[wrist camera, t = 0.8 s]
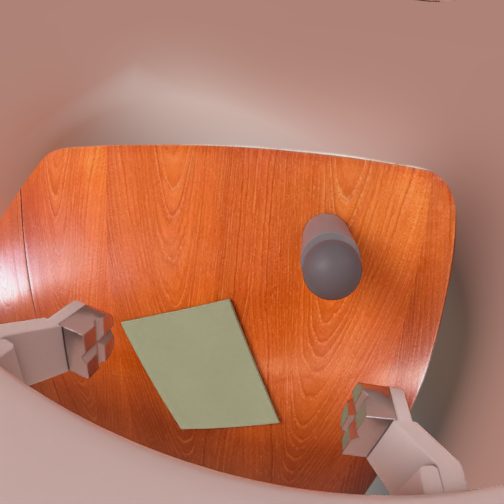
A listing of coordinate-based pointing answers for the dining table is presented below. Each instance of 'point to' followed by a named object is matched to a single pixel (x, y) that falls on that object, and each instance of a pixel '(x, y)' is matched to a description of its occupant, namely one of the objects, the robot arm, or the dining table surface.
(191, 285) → the dining table surface
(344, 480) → the dining table surface
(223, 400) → the mat
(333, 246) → the ball
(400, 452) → the robot arm
